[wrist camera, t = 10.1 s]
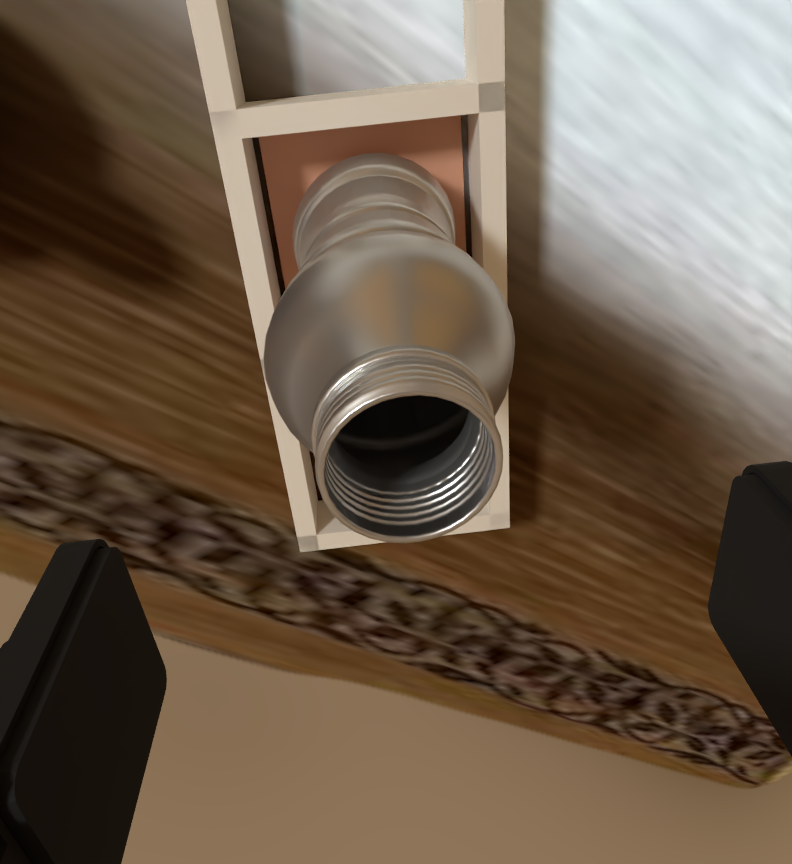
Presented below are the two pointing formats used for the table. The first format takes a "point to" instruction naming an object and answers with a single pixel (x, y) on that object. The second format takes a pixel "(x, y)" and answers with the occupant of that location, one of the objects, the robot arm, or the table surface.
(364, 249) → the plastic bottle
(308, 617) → the table surface
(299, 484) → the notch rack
